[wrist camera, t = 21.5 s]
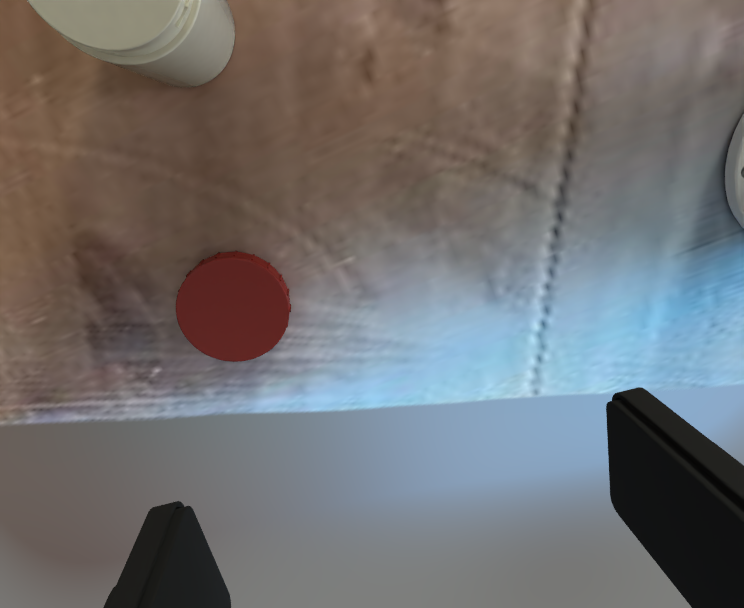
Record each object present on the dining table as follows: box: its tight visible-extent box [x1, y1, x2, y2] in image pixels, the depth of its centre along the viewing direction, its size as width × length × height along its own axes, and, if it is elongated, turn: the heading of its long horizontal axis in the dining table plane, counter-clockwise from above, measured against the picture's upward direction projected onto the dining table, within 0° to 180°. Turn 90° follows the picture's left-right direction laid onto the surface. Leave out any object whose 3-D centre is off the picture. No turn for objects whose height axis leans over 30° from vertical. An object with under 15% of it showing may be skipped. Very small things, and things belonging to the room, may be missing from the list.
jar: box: [27, 0, 235, 88], centre depth 21 cm, size 6×6×11 cm
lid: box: [176, 251, 291, 362], centre depth 31 cm, size 7×7×2 cm
